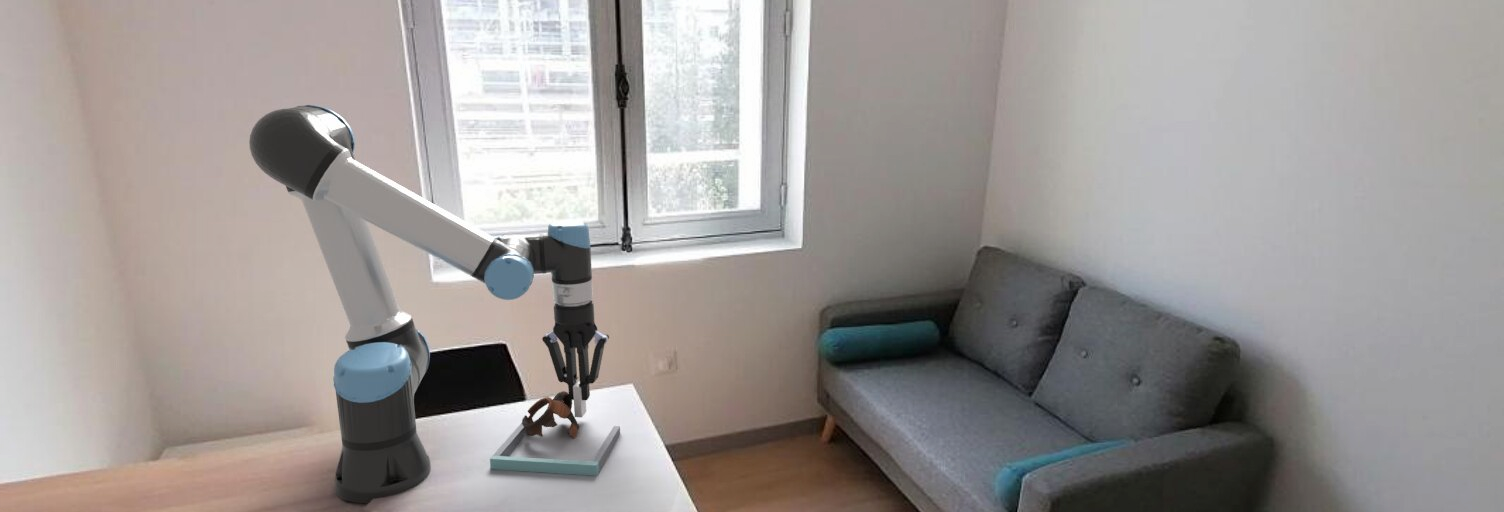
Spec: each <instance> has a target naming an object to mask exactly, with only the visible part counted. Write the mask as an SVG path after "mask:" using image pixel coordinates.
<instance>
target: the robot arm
mask: <svg viewBox="0 0 1504 512" xmlns="http://www.w3.org/2000/svg"><path fill="white" fill-rule="evenodd" d="M248 141H249V142H248V143H249V150H250V154H251V157H252V159H253V160H254V162H255V164H256V165H257V166H258V168H260V170H261V171H262V172H263V173H265V174H266V175H268V176H267V177H269V178H271V179H273V180H275V181H276V182H278V183H280V184H282V185H284V186H285V188H286V191H287V192H288V194H289V195H290V196H294V197H296V198H298V199H299V200H301V201H302V203H303V207H304V209H305V211H306V214H307V218H308V219H309V222H310V225H311V227H312V230H313V233H314V235H315V237H316V240H317V243H318V246H319V248H320V250H321V253H322V256H323V258H324V261H325V264H326V266H327V269H328V272H329V273H330V276H331V279H332V282H333V284H334V286H335V289H336V292H337V295H338V297H339V300H340V302H341V305H342V308H343V311H344V313H345V315H346V318H347V321H348V323H349V329H348V331H347V332H346V334H345V336H344V339H345V341H346V344H347V347H348V350H347V351H346V352H344V353H343V354H342V355H340V356H339V357H338V359H337V360H336V361H335V363H334V367H333V387H334V390H335V395H336V404H337V412H338V421H339V427H340V428H339V429H340V430H339V431H340V434H341V435H340V436H341V444H342V447H341V451H340V454H339V458H338V459H339V460H338V463H337V466H336V471H335V476H334V485H335V492H336V494H337V496H338V497H339V498H341V499H342V500H344V501H348V502H352V503H358V504H359V503H361V504H369V503H371V502H372V501H373V500H375V499H381V498H382V499H383V498H387V497H392V496H395V495H398V494H401V493H404V492H406V491H409V490H411V489H413V488H415V487H417V486H419V485H420V484H421V483H422V482H424V481H425V480H426V479H428V476H429V475H430V473H431V471H432V468H431V467H432V466H431V460H430V457H429V455H428V453H427V451H426V449H425V447H424V444H423V442H422V441H421V439H420V437H419V435H418V432H417V423H416V412H415V403H414V402H415V400H414V399H415V393H416V392H417V390H418V387H419V386H420V384H421V381H422V379H423V377H425V374H426V373H427V371H428V369H429V365H430V362H431V361H430V357H431V351H430V350H431V349H430V345H429V342H428V340H427V338H426V337H425V335H424V334H423V333H422V331H420V330H419V329H418V328H416V326H415V323H414V320H413V316H412V315H411V314H410V313H407V312H406V311H402V310H401V309H400V307H399V304H398V301H397V299H396V296H395V293H394V290H393V287H392V285H391V281H390V280H389V276H388V273H387V272H386V268H385V265H384V263H383V260H382V258H381V255H380V252H379V250H378V247H377V244H376V243H377V242H376V241H375V237H374V235H373V233H372V230H371V227H370V225H369V223H370V224H372V225H374V226H375V227H378V228H379V229H382V230H383V231H385V232H386V233H388V234H391V235H393V236H394V237H396V238H398V239H400V240H402V241H404V242H406V243H407V244H409V245H412V246H414V247H415V248H418V250H421V251H423V252H425V253H426V254H428V255H430V256H432V257H434V258H437V259H438V260H440V261H442V262H443V263H445V264H447V265H449V266H451V267H453V268H455V269H457V270H459V271H461V272H463V273H464V274H466V275H469V276H470V277H472V278H474V279H476V280H477V281H479V282H481V283H483V284H484V285H486V288H487V290H488V291H489V293H491V295H493V296H494V297H496V298H498V299H500V300H503V301H504V300H505V301H512V300H517V299H519V298H520V297H522V296H523V295H525V294H526V293H527V292H528V290H529V289H530V287H531V285H532V283H534V282H533V279H534V277H535V275H539V274H540V275H541V274H542V275H544V274H551V287H552V299H553V302H554V304H553V315H554V317H553V319H554V326H553V327H552V331H549V332H547V333H546V334H544V335H543V336H542V338H541V339H542V341H543V343H544V345H545V346H546V347H547V349H548V352H549V355H550V358H551V362H552V364H553V368H554V371H555V374H556V377H557V380H558V382H560V383H565V384H567V386H568V394H569V398H570V400H572V401H573V408H574V409H573V410H574V417H575V418H583V417H584V416H585V414H586V412H587V401H588V399H590V394H591V393H590V391H591V390H590V384H594V383H595V382H596V381H597V379H598V378H599V375H600V370H601V365H602V359H603V354H604V349H605V345H606V344H607V342H608V341H609V338H610V336H609V334H607V333H605V334H603V333H601V332H600V331H598V327H597V325H596V323H595V307H594V301H593V300H592V299H593V298H594V292H593V291H594V289H593V277H592V276H593V275H592V272H593V271H592V253H591V237H590V231H589V230H590V229H589V226H588V224H587V223H586V222H584V221H582V220H576V219H564V220H556V221H552V222H550V223H549V225H548V226H547V228H548V229H547V231H546V232H544V233H535V234H531V233H530V234H511V235H509V234H508V235H505V234H500V235H494V236H492V235H490V234H488V233H486V232H485V231H483V230H481V229H479V228H477V227H476V226H475V225H473V224H470V223H469V222H467V221H465V220H463V219H461V218H460V217H458V216H456V215H455V214H452V213H451V212H449V211H447V210H445V209H443V208H441V207H439V206H438V205H437V204H435V203H432V202H430V201H429V200H427V199H425V198H423V197H421V196H420V195H418V194H416V193H415V192H414V191H413V192H412V191H411V190H409V189H407V188H406V187H404V186H403V185H401V184H398V183H396V182H395V181H394V180H391V179H389V178H388V177H386V176H384V175H382V174H380V173H378V172H377V171H375V170H373V169H371V168H369V167H368V166H365V165H364V164H362V163H360V162H359V161H357V160H356V159H355V155H354V154H353V153H354V150H355V137H354V132H353V130H352V128H351V126H350V124H349V123H348V122H347V121H346V120H345V118H344V117H342V116H341V115H340V114H338V112H336V111H334V110H332V109H330V108H327V107H322V106H319V105H314V104H312V105H311V104H306V105H298V106H297V105H296V106H295V107H289V108H281V109H276V110H272V111H270V112H268V113H266V114H264V116H261V118H259V119H258V120H257V121H256V123H255V124H254V126H253V127H252V130H251V132H250V134H249V140H248ZM593 338H594V344H595V347H594V351H593V356H592V360H591V366H590V363H589V359H590V358H589V348H590V347H589V344H590V343H591V341H592V340H593ZM558 340H559V341H560V342H561V344H562V346H563V352H564V356H565V360H564V356H563V353H562V350H561V348H560V347H561V346H560V344H559V342H558ZM576 354H577V355H576ZM577 360H578V361H577ZM577 363H578V368H577ZM577 369H578V370H577ZM577 371H578V372H577Z"/></svg>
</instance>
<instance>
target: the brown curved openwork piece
mask: <svg viewBox="0 0 1504 512" xmlns="http://www.w3.org/2000/svg"><path fill="white" fill-rule="evenodd" d="M545 406H547V408H546V410H545V411H544V412H543V414H541V416H540V417H538V419H536V420H534V419H533V417H535V415H536V414H537V412H538V411H539V410H541V409H543V407H545ZM572 407H573V400H570V398H569V392H567V391H565V390H563V391H560V392H558V393H556V394H555V396H554V397H553V399H552V397H549V396H546V397H542V398H540V399H539V400H537V401H536V402H534V403H533V404H532V405H531V406H530V407H529V409H528V410H527V412H528V414H529V416H527V415H524V416H523V417H522V420H521V423H522V425H523V426H524V427H525V431H526V434H525V435H527V436H528V437H533V436H539V437H543V436H544V435H543V427H544V428H555V427H557V426H558V423H557V422H556V421H555V416H554V415H557V416H558V417H559V418H560V419H568V420H569V422H570V425H569V428H568V430H567V433H568V434H569V435H570V437H571V438H572V439H575V438H576V437H577V435H578V434H579V431H580V424H579V423H578V421H577V420H576V417H575V415H574V414H573V411H572Z"/></svg>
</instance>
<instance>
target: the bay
mask: <svg viewBox="0 0 1504 512" xmlns="http://www.w3.org/2000/svg"><path fill="white" fill-rule="evenodd" d="M620 434H621V426H620V425H613V427H612V428H611V430H610V432H609V433H608V435H607V436H606V438H605V439H604V441H603V443H602V445H601V447H600V448H599V449H598V451H597V453H596V455H594V458H593V459H592V461H586V460H585V461H584V460H569V459H555V458H553V459H552V458H537V457H536V458H535V457H524V456H523V457H522V456H521V457H520V456H510V455H511V454H512V452H513V451H514V450H515V449H516V448H517V446H518V445H519V444H520V442H521V441H522V439H523V438H524V436H525V435H527V434H526V431H525V427H524V426H523V425H522V422H521V423H520V424H519V425H518V426H517V427H516V429H514V431H513V432H512V433H511V434H510V435H509V436H508V437H507V439H505V441H504V442H503V443H502V444H501V445H500V447H499V448H498V449H497V450H496V451H495V452H494V454H493V455H492V456H491V457H490V458H489V463H490V470H498V471H500V470H502V471H513V472H514V471H515V472H517V471H518V472H531V473H546V474H549V473H551V474H560V475H561V474H564V475H578V476H579V475H580V476H594V477H597V476H598V475H599V473H600V472H601V470H602V468H603V466H604V465H605V463H606V462H607V459H608V457H609V456H610V454H611V453H612V450H613V448H614V446H615V444H616V442H617V440H618V438H619V437H620Z"/></svg>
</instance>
